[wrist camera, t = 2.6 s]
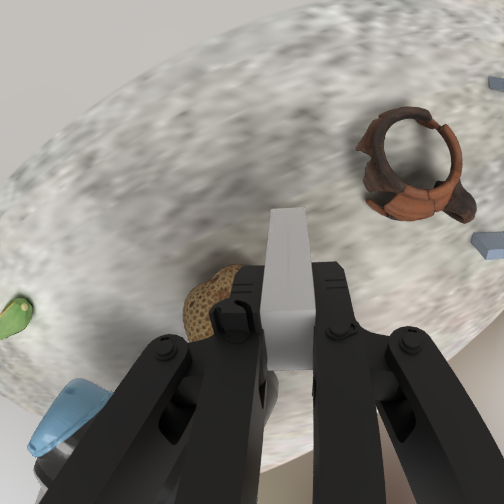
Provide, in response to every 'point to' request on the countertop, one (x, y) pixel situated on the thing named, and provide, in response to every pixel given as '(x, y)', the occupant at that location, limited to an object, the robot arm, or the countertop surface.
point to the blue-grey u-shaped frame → (491, 242)
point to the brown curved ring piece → (408, 197)
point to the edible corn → (15, 317)
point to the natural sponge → (206, 303)
